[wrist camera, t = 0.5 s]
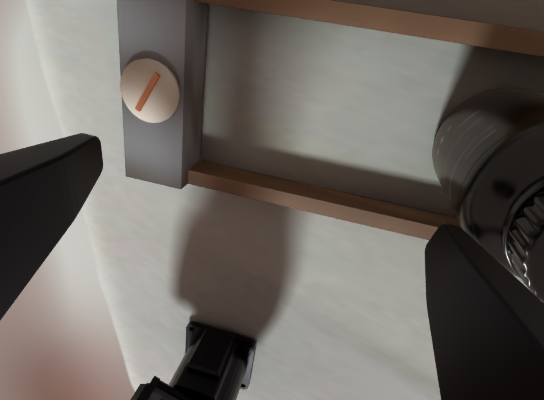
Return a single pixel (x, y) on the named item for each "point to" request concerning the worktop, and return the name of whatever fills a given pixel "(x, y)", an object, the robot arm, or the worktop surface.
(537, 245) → the supplement bottle
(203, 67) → the wooden frame
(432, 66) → the worktop surface
